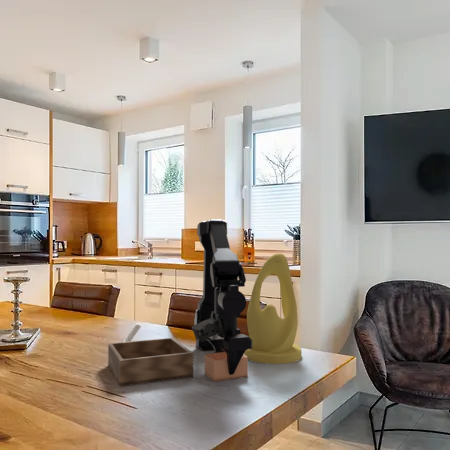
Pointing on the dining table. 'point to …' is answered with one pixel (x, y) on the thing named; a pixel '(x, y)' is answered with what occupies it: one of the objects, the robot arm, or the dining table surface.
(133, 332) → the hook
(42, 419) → the dining table surface
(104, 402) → the dining table surface
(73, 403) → the dining table surface
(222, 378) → the small crate
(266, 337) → the sculpture
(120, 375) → the big crate
